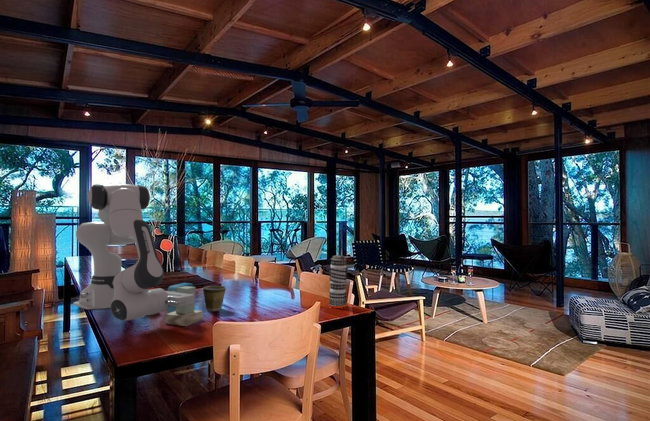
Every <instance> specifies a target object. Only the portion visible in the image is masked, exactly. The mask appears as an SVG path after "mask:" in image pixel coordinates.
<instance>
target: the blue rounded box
mask: <svg viewBox="0 0 650 421" xmlns="http://www.w3.org/2000/svg"><path fill="white" fill-rule="evenodd" d="M184 286H190V287H195V286H194V284H193V283H191V282H182V283H177V284H173V285H169V286H168V288H167V291H176V292H177V288H178V287H184ZM174 311H176V307H175V306H168V307H167V308H166V312H167V313H166V314H168V313H171V312H174Z"/></svg>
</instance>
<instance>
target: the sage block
mask: <svg viewBox="0 0 650 421" xmlns="http://www.w3.org/2000/svg"><path fill="white" fill-rule="evenodd" d="M177 292H178V293H186V294H191V293H193V294H195V295H196V286H194V287H190V286H184V287H178V288H177ZM195 306H196V296H195V297H194V303H193V304H191V305H187V306H182V307H176V313H181V314H188V313H192V312H194V310H196V309H195Z"/></svg>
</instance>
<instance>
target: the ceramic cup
mask: <svg viewBox="0 0 650 421" xmlns="http://www.w3.org/2000/svg"><path fill="white" fill-rule="evenodd" d="M202 291H203V292H202V293H203V297H204V306H205V310H206V309H207V310H206V311H209V312H218V311H220V310H222V308H223V304H224V303H223V302H224V297H225V293H226V286H224V285H207V286H204V287H203V288H202Z"/></svg>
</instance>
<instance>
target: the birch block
mask: <svg viewBox="0 0 650 421" xmlns="http://www.w3.org/2000/svg"><path fill="white" fill-rule="evenodd" d="M203 313H204V312H203V310H199V309H194V312H192V313H188V314H181V313H176V311H174V312H171V313H165V324H167V325H176V326H183V327H188V326H190V325H192V324H195V323H198V322H200V321H202V320H203V316H204V314H203Z"/></svg>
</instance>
